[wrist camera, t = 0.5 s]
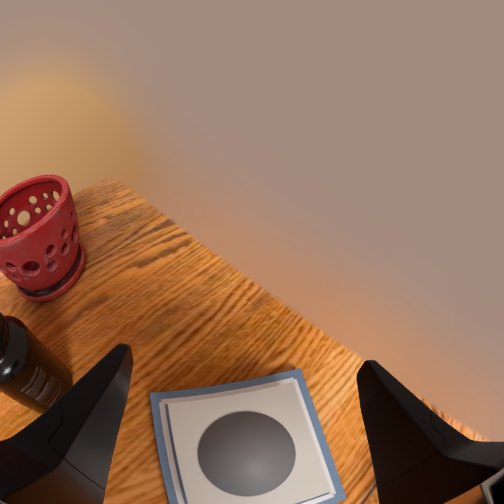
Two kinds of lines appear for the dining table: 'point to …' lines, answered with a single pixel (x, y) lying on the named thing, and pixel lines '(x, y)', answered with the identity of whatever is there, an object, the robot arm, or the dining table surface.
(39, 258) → the plant pot
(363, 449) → the dining table surface
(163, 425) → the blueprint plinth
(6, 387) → the supplement bottle
